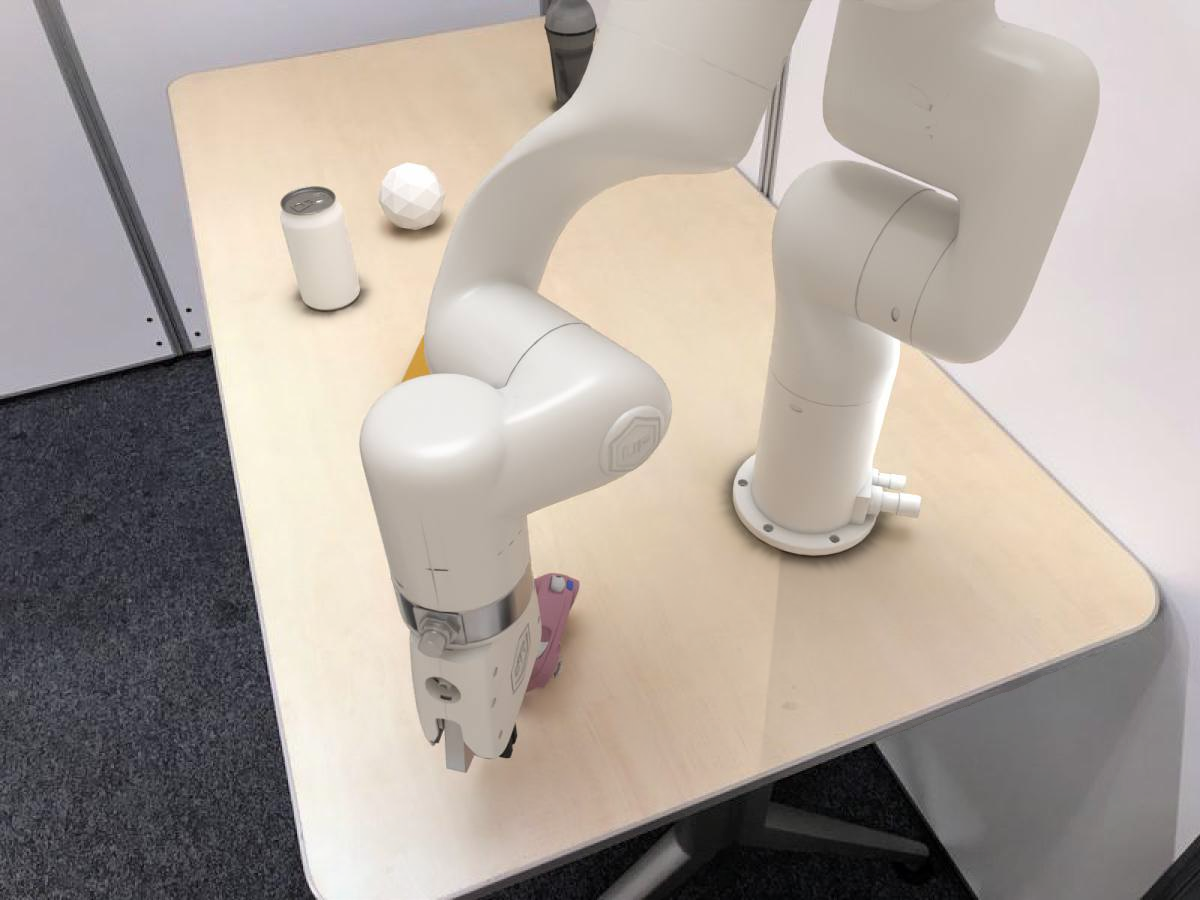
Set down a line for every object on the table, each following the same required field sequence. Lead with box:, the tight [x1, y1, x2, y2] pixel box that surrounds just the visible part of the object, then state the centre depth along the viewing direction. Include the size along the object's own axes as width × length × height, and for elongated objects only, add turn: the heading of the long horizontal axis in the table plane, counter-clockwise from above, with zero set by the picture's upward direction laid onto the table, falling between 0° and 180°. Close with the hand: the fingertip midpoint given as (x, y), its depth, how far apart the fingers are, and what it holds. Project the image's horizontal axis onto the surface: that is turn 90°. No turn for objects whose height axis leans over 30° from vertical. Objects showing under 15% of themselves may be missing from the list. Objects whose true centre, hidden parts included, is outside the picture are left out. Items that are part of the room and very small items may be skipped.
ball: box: [377, 162, 446, 231], centre depth 116 cm, size 8×8×8 cm
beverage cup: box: [543, 0, 598, 110], centre depth 134 cm, size 7×7×20 cm
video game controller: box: [525, 572, 580, 694], centre depth 73 cm, size 10×5×7 cm, turn 168°
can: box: [279, 185, 361, 312], centre depth 104 cm, size 6×6×12 cm
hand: (492, 743), depth 66 cm, fingers closed
